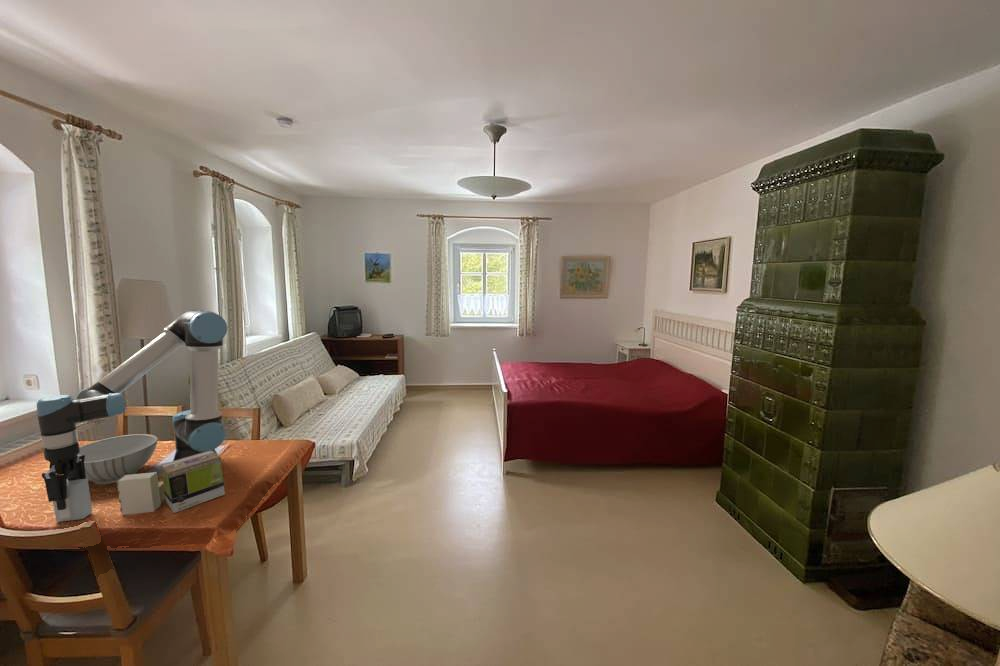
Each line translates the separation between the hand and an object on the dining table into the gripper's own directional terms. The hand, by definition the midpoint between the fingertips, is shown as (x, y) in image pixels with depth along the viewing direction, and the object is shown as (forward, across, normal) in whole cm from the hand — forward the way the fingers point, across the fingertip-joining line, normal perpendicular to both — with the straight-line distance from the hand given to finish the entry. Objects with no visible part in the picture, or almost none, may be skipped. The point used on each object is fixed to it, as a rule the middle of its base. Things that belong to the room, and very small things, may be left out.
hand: (71, 513), depth 129 cm
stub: (+2, 0, +1) cm, 2 cm away
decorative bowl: (+2, -29, -5) cm, 29 cm away
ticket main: (+2, -2, +19) cm, 19 cm away
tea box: (+2, -3, +33) cm, 34 cm away
